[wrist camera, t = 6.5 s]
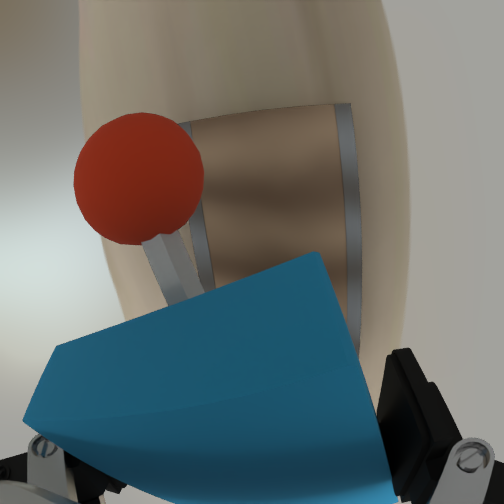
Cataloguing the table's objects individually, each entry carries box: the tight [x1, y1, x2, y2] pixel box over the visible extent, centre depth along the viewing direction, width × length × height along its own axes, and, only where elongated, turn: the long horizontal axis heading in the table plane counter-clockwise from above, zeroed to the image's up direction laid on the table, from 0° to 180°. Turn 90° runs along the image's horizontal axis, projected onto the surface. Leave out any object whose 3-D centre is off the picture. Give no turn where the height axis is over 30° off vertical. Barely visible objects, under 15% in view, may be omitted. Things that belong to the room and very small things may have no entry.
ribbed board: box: [178, 103, 362, 359], centre depth 25 cm, size 24×13×1 cm, turn 7°
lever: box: [23, 113, 398, 504], centre depth 9 cm, size 7×7×18 cm
